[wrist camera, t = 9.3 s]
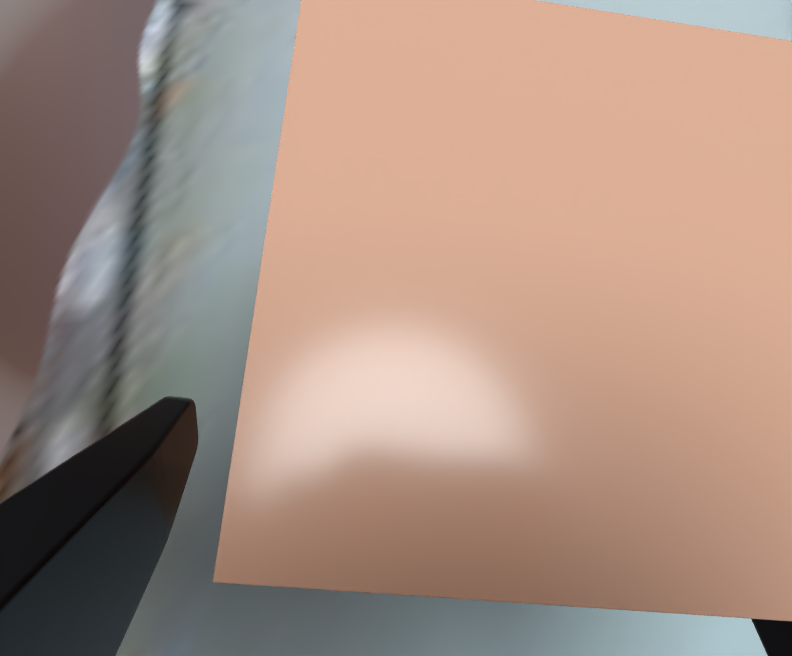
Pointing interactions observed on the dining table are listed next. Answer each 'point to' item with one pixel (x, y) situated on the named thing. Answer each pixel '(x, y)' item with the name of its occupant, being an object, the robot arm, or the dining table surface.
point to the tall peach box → (523, 314)
